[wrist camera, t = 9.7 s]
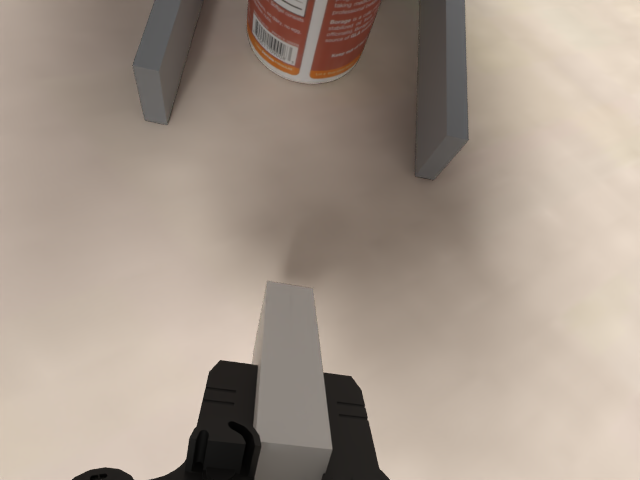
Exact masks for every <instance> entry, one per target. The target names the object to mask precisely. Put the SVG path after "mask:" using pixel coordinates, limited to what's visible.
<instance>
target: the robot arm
mask: <svg viewBox="0 0 640 480" xmlns="http://www.w3.org/2000/svg"><path fill="white" fill-rule="evenodd" d="M367 418H368V417H367V413H366V408H365V404H364V399H363V395H362V391H361V389H360V388H359V386H358V385H357V384H356V382H355V381H354V379H353V378H352V377H351V376H345V375H338V374H330V373H323V367H322V359H321V351H320V342H319V334H318V326H317V318H316V309H315V301H314V293H313V288H309V287H302V286H296V285H290V284H284V283H277V282H271V281H267V284H266V289H265V294H264V299H263V304H262V309H261V314H260V320H259V325H258V330H257V335H256V340H255V345H254V350H253V359H252V364H245V363H238V362H230V361H222V360H220V361H219V362H218V363H217V364H216V365H215V366H214V367H213V368H212V370H211V371H210V372H209V375H208V380H207V384H206V389H205V393H204V397H203V402H202V406H201V410H200V414H199V419H198V423H197V427H196V428H195V429H194V431H193V432H192V434H191V436H190V438H189V445H188V452H187V458H186V460H185V462H184V463H183V464H182V465H181V466H180V467H178V468H177V469H176V470H175V471H173V472H171V473H169V474H167V475H165V476H162V477H159V478H155V479H151V480H390V479H389V478H388V477H387V476H386V475H385V474H384V473H383V472H382V471H381V470H380V469H379V466H378V461H377V457H376V452H375V448H374V444H373V439H372V435H371V430H370V426H369V421H368V420H367ZM72 480H134V479H133V478H132V476H131V475H129V474H127V473H125V472H124V471H122V470H120V469H113V468H106V467H105V468H99V469H93V470H89V471H87V472H85V473H83V474H80V475H78V476H76V477H74V478H73V479H72Z"/></svg>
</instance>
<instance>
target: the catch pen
mask: <svg viewBox="0 0 640 480" xmlns="http://www.w3.org/2000/svg"><path fill="white" fill-rule="evenodd" d="M202 3H203V0H155V2H154V4H153V7H152V10H151V13H150V16H149V19H148V22H147V25H146V27H145V30H144V33H143V36H142V39H141V42H140V45H139V48H138V50H137V53H136V56H135V59H134V62H133V65H132V66H133V71H134V75H135V79H136V84H137V88H138V92H139V97H140V101H141V106H142V110H143V114H144V119H145V120H146V121H151V122H156V123H160V124H165V125H167V124H168V121H169V118H170V114H171V111H172V107H173V104H174V100H175V97H176V93H177V90H178V86H179V83H180V79H181V76H182V72H183V69H184V66H185V62H186V59H187V55H188V52H189V48H190V45H191V41H192V38H193V34H194V31H195V27H196V24H197V20H198V17H199V14H200V10H201V7H202ZM468 140H469V139H468V103H467V67H466V31H465V0H420V9H419V46H418V83H417V121H416V158H415V176H417V177H422V178H427V179H432V180H434V179H435V178H436V177H437V176H438V175H439V174H440V172H441V171H442V170H443V169H444V168H445V167H446V166H447V164H448V163H449V162H450V161H451V160H452V159H453V157H454V156H455V155H456V154H457V153H458V152H459V151H460V149H461V148H462V147H463V146H464V145H465V144H466V143H467V141H468Z"/></svg>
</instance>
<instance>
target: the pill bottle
mask: <svg viewBox="0 0 640 480" xmlns="http://www.w3.org/2000/svg"><path fill="white" fill-rule="evenodd" d="M380 3H381V0H248V11H247V35H248V39H249V43H250V45H251V47H252V50H253V51H254V53H255V54H256V56H257V57H258V59H259V60H260V61H261V62H262V63H263V64H264V65H265V66H266V67H267V68H268V69H270V70H271V71H272V72H274V73H275V74H277V75H279V76H281V77H283V78H285V79H288V80H291V81H295V82H299V83H306V84H320V83H326V82H330V81H333V80H336V79H338V78H340V77H342V76H344V75H345V74H347V73H348V72H349V71H350V70H351V69H352V68H353V67H354V66H355V65H356V63H357V62H358V60H359V58H360V56H361V54H362V51H363V49H364V46H365V44H366V41H367V38H368V36H369V33H370V30H371V27H372V25H373V22H374V19H375V17H376V14H377V11H378V9H379V6H380Z"/></svg>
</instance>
